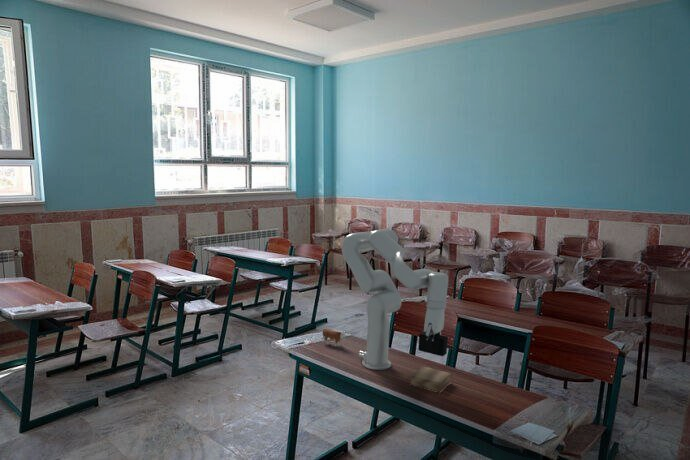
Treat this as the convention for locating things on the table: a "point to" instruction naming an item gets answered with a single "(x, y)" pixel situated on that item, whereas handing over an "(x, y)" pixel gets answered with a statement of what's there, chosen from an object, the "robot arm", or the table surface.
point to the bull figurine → (333, 336)
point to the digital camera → (439, 344)
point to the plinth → (430, 379)
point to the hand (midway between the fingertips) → (433, 348)
